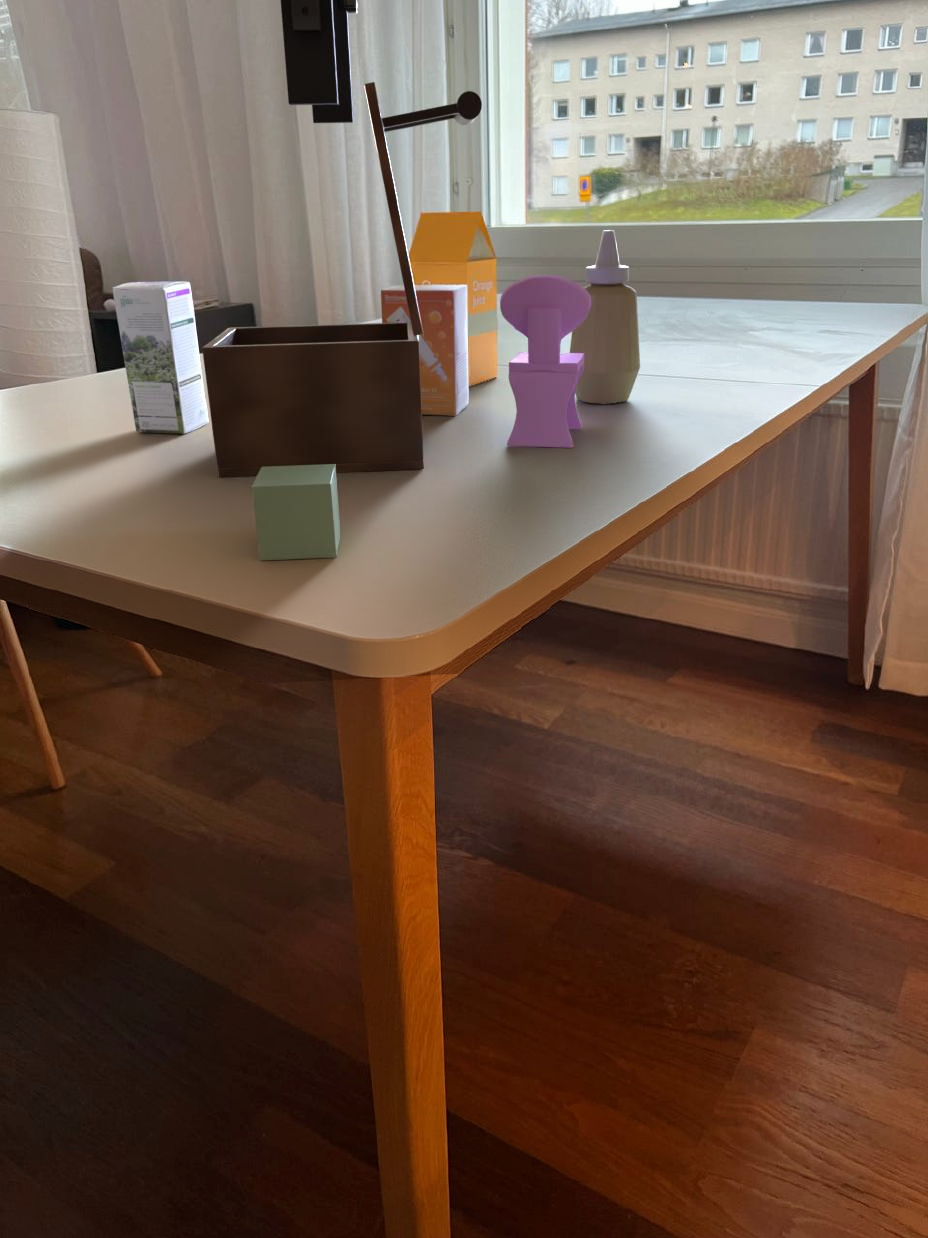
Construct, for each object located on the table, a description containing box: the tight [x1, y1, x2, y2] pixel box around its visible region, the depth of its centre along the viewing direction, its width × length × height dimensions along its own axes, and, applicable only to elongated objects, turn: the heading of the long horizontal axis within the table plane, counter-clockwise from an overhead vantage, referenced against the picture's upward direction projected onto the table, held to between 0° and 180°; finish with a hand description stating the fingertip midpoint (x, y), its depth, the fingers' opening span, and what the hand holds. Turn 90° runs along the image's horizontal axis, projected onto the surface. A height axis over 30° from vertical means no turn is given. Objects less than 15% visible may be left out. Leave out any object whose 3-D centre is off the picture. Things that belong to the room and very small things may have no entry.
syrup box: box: [111, 281, 210, 435], centre depth 98 cm, size 6×6×14 cm
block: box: [251, 464, 342, 562], centre depth 64 cm, size 5×5×5 cm
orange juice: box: [408, 211, 499, 387], centre depth 120 cm, size 8×9×20 cm
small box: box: [380, 284, 470, 417], centre depth 104 cm, size 8×6×13 cm
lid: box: [363, 81, 483, 336], centre depth 81 cm, size 18×14×9 cm
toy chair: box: [499, 274, 591, 449], centre depth 90 cm, size 8×9×15 cm
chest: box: [201, 322, 425, 478], centre depth 87 cm, size 18×14×11 cm
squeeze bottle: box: [569, 229, 641, 404], centre depth 106 cm, size 8×8×18 cm
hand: (324, 115), depth 60 cm, fingers open, 13 cm apart
